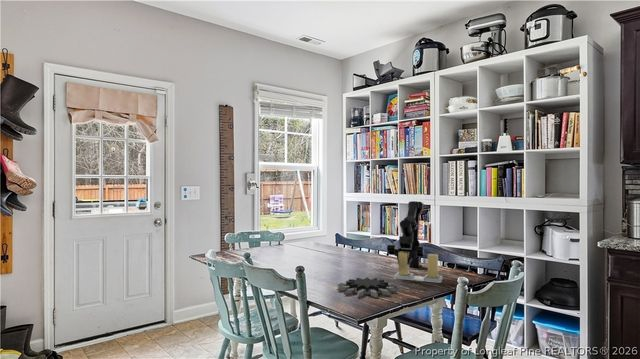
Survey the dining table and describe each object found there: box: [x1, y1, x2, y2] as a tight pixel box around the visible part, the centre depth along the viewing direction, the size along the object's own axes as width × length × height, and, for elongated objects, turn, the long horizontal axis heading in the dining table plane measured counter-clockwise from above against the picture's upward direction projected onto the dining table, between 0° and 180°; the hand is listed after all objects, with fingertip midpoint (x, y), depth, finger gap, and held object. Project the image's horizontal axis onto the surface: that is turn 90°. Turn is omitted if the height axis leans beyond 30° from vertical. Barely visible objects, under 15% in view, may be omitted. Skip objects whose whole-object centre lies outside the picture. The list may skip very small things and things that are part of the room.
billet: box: [398, 251, 410, 276], centre depth 202 cm, size 4×4×12 cm
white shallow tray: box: [393, 271, 443, 284], centre depth 199 cm, size 9×23×2 cm, turn 67°
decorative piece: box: [336, 276, 400, 299], centre depth 181 cm, size 30×4×30 cm
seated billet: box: [427, 253, 439, 279], centre depth 196 cm, size 4×4×12 cm
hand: (403, 264), depth 200 cm, fingers closed on billet, 4 cm apart
